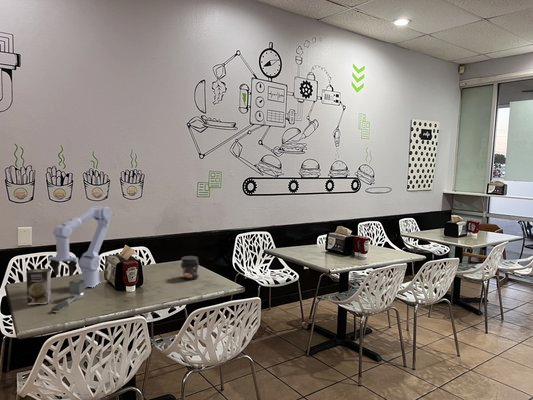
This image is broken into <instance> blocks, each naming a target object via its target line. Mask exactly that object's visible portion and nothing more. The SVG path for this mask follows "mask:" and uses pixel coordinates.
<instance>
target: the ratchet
mask: <svg viewBox="0 0 533 400" xmlns="http://www.w3.org/2000/svg"><path fill="white" fill-rule="evenodd" d="M82 297H84V298H85V292H83V293H82V294H80V295H72V294H70V296H69V298H67V299H65V300H62V301H60V302H59V303H57V304H56V305H54V306H53V307H51V312H52V311H59V310H60V309H62V308H63V307H65V306H66V305H68V303H70V302H72V301H73V300H75V299H77V298H82ZM82 299H83V298H82ZM75 301H76V300H75ZM72 303H73V302H72ZM68 306H69V305H68Z"/></svg>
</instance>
